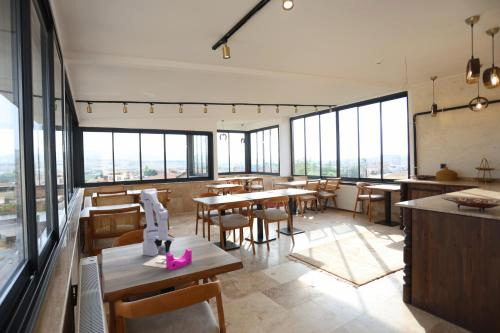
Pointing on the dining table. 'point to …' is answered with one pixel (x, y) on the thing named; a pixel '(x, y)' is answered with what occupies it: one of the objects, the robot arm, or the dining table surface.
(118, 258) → the dining table surface
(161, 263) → the letter board
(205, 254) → the dining table surface
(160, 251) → the slate-blue cube
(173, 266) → the toy block
